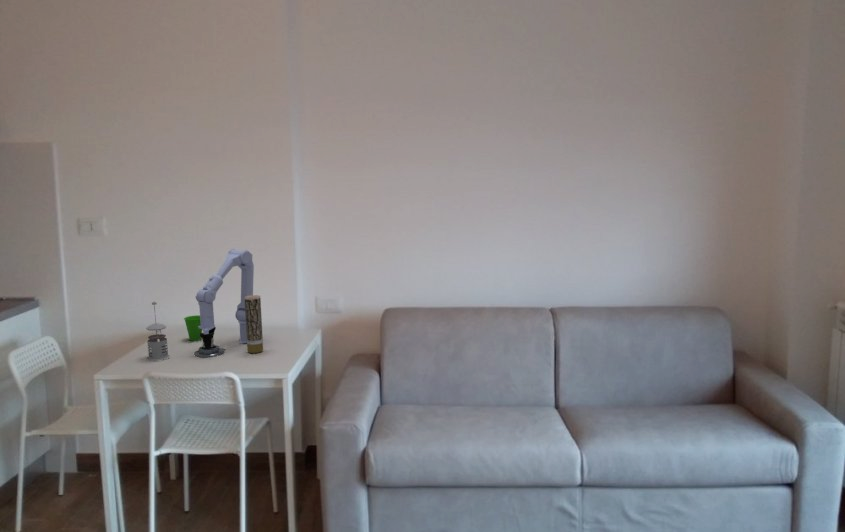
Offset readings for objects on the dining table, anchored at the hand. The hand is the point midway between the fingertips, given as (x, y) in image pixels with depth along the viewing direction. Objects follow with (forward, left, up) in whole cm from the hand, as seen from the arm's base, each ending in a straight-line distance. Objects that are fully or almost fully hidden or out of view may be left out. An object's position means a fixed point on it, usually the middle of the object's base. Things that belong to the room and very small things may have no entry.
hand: (209, 346), depth 283 cm
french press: (+21, +1, -3) cm, 21 cm away
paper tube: (-20, +3, -3) cm, 21 cm away
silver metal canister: (0, 0, -3) cm, 3 cm away
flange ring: (0, 0, -3) cm, 3 cm away
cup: (+9, -25, -3) cm, 27 cm away
